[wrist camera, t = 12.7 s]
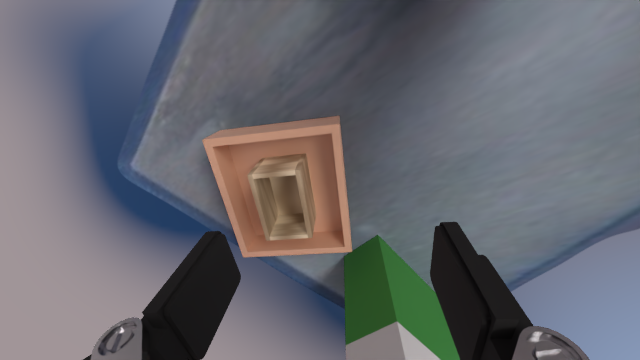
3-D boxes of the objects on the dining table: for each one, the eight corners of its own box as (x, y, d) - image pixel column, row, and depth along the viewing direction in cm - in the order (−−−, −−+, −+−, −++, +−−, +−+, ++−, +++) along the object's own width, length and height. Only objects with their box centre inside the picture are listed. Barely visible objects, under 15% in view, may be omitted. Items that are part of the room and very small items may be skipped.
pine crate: (306, 153, 34) (299, 169, 28) (316, 213, 38) (312, 237, 32) (261, 157, 34) (247, 175, 29) (276, 216, 38) (266, 240, 33)
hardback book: (436, 293, 44) (527, 508, 23) (402, 309, 47) (455, 517, 25) (377, 234, 40) (422, 435, 18) (343, 256, 42) (347, 454, 21)
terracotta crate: (339, 115, 32) (339, 123, 27) (350, 231, 40) (352, 251, 35) (220, 130, 34) (202, 139, 30) (253, 236, 42) (243, 257, 37)
